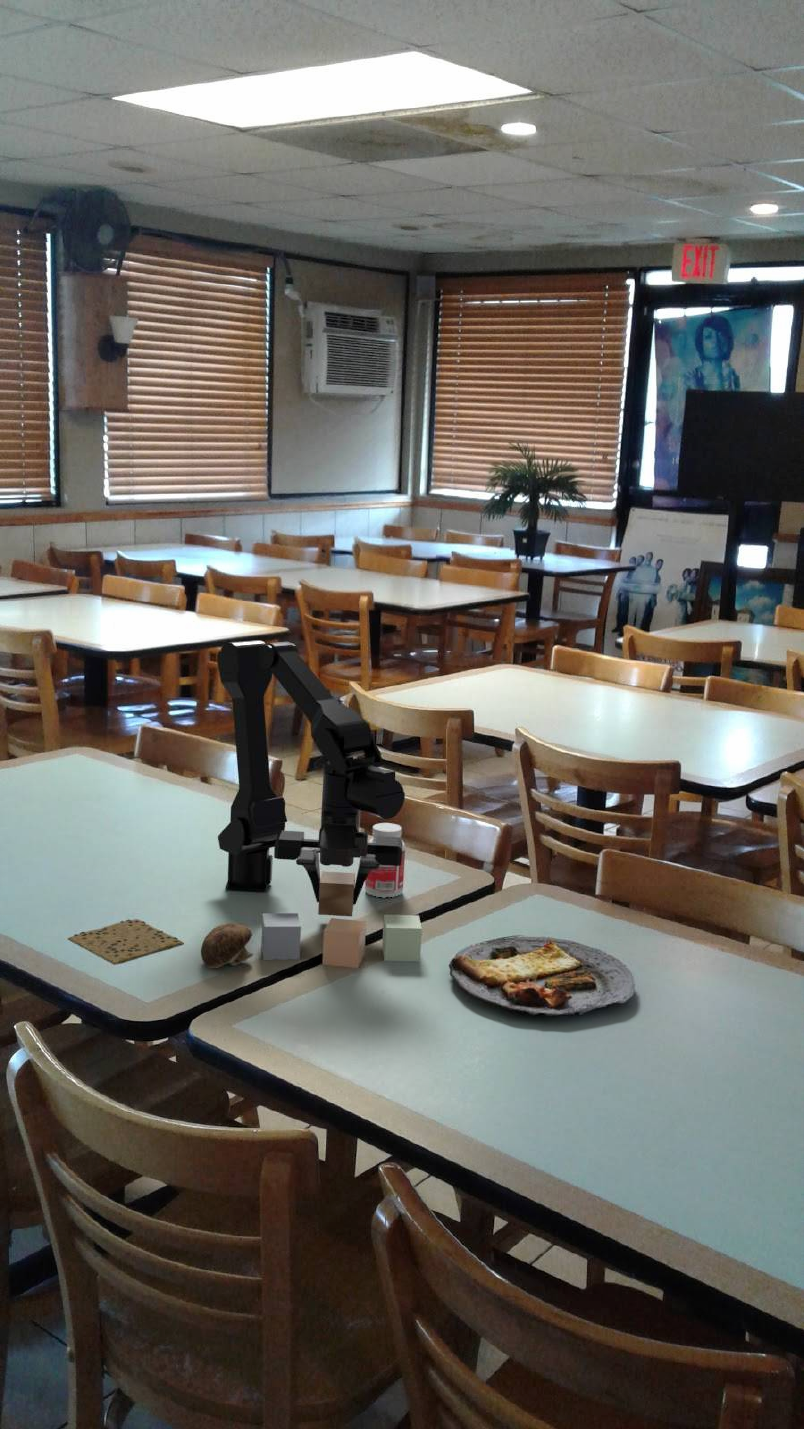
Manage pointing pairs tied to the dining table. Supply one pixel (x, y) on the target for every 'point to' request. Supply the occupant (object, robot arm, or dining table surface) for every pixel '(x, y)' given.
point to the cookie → (125, 941)
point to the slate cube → (280, 936)
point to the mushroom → (226, 945)
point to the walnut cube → (336, 893)
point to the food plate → (541, 975)
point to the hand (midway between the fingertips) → (336, 902)
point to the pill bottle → (386, 867)
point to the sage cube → (401, 938)
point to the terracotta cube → (344, 942)
